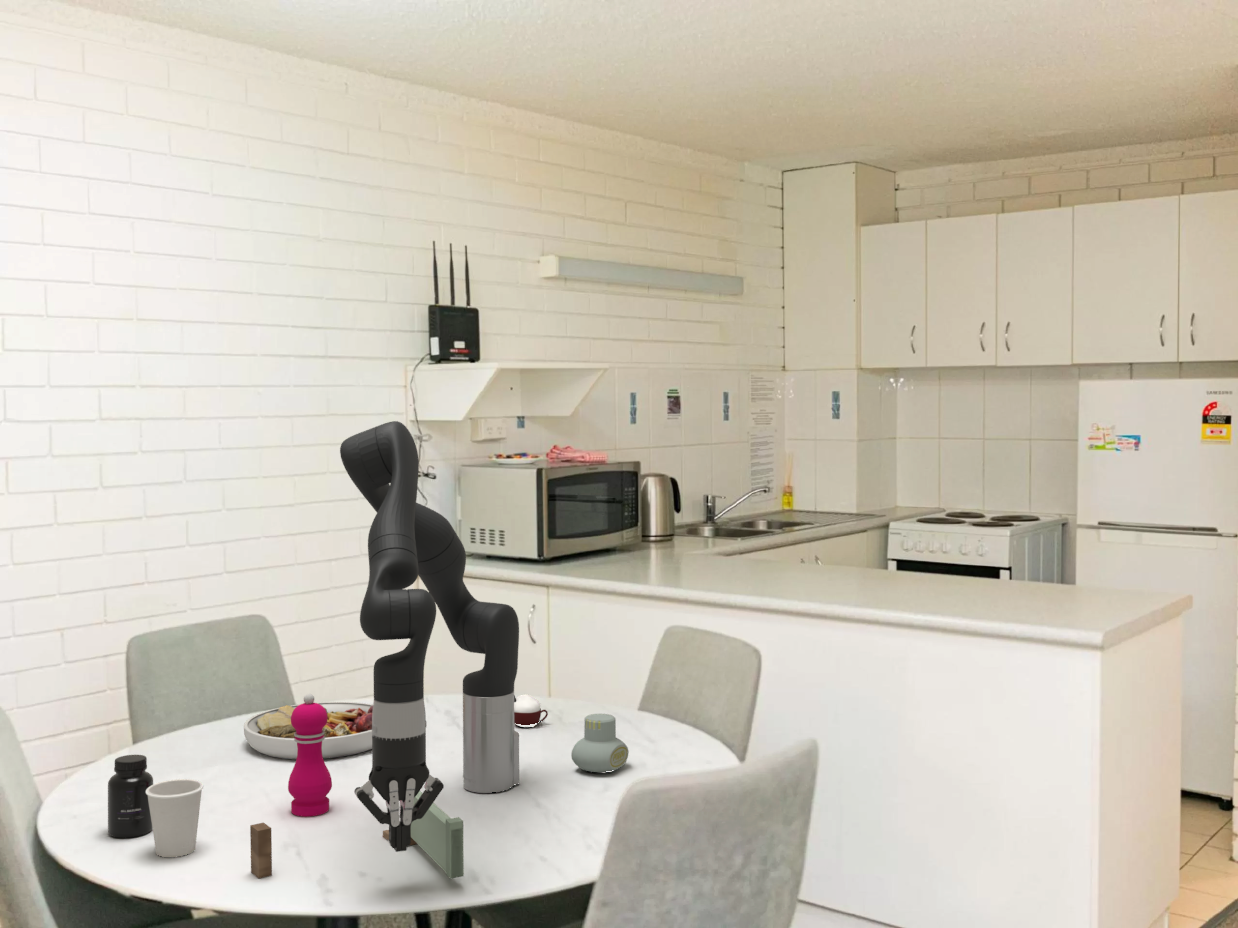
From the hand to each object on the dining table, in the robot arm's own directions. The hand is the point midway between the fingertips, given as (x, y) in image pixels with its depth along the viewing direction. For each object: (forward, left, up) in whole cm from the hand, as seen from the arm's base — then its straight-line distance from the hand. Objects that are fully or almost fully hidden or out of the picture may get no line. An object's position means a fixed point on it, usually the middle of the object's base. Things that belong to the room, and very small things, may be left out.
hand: (399, 849), depth 173 cm
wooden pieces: (+1, -16, -5) cm, 17 cm away
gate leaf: (-8, -4, -4) cm, 10 cm away
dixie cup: (+21, -33, -5) cm, 40 cm away
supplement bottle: (+24, -46, -5) cm, 52 cm away
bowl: (-22, -77, -6) cm, 81 cm away
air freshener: (-56, -27, -6) cm, 62 cm away
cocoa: (-62, -62, -6) cm, 88 cm away
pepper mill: (-3, -38, -5) cm, 39 cm away
